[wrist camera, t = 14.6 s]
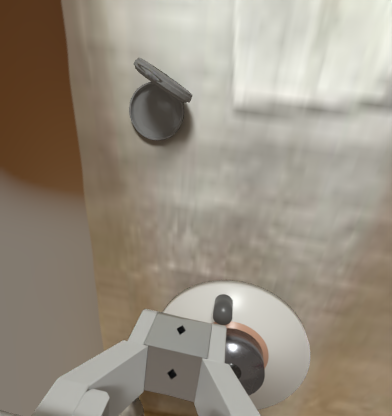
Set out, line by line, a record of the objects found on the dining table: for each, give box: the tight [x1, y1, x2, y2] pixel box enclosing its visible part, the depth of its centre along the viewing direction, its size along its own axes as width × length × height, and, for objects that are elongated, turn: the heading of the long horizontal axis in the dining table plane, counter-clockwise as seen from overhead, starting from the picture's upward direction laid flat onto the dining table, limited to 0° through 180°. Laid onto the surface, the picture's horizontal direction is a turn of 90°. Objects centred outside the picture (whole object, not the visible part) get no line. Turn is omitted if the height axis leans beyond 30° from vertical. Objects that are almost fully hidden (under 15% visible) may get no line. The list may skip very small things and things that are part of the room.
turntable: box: [163, 280, 310, 410], centre depth 40 cm, size 22×22×6 cm
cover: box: [225, 328, 265, 396], centre depth 38 cm, size 9×9×3 cm
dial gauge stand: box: [118, 396, 144, 416], centre depth 41 cm, size 6×5×12 cm
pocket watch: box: [129, 58, 192, 140], centre depth 29 cm, size 8×8×10 cm
